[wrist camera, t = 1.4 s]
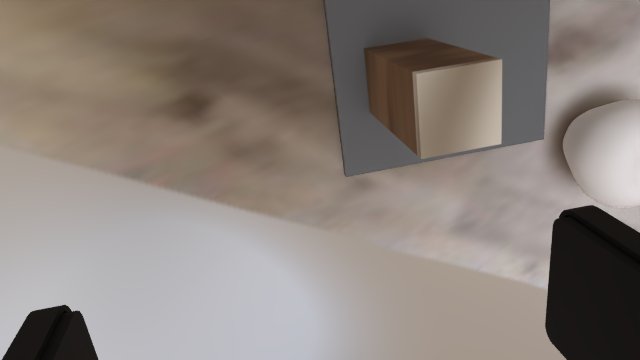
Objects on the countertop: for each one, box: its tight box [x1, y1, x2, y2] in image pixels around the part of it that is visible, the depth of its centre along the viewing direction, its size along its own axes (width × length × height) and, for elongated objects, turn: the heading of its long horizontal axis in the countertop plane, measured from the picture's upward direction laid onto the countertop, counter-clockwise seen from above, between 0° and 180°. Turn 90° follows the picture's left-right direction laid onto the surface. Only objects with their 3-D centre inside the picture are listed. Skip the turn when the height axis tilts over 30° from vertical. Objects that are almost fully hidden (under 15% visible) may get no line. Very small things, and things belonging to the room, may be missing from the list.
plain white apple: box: [563, 100, 640, 208], centre depth 32 cm, size 7×7×8 cm
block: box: [364, 38, 502, 159], centre depth 27 cm, size 4×4×9 cm
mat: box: [324, 0, 550, 177], centre depth 32 cm, size 14×12×1 cm
